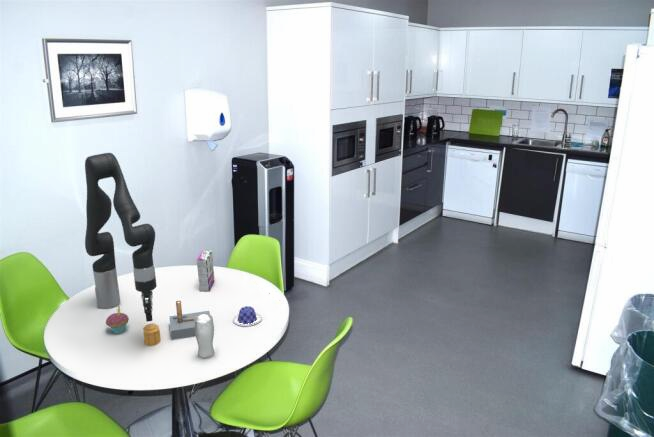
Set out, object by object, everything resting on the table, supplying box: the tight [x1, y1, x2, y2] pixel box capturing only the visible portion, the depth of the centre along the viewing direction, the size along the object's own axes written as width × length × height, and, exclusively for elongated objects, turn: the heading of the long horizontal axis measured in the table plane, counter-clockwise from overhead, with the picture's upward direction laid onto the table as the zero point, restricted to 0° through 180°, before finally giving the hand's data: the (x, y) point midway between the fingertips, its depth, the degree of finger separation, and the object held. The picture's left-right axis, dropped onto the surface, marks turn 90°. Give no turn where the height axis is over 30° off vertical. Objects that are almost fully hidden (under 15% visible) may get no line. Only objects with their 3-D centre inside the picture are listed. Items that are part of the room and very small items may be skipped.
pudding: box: [232, 305, 263, 327], centre depth 219 cm, size 12×12×5 cm
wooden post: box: [175, 300, 183, 323], centre depth 208 cm, size 2×2×9 cm
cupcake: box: [105, 305, 130, 334], centre depth 209 cm, size 9×8×12 cm
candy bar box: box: [196, 250, 215, 292], centre depth 246 cm, size 11×5×16 cm, turn 179°
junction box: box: [169, 310, 211, 341], centre depth 211 cm, size 16×12×5 cm
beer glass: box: [194, 314, 215, 359], centre depth 192 cm, size 7×7×15 cm
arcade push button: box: [142, 323, 161, 347], centre depth 202 cm, size 6×6×7 cm
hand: (149, 315), depth 199 cm, fingers open, 8 cm apart
